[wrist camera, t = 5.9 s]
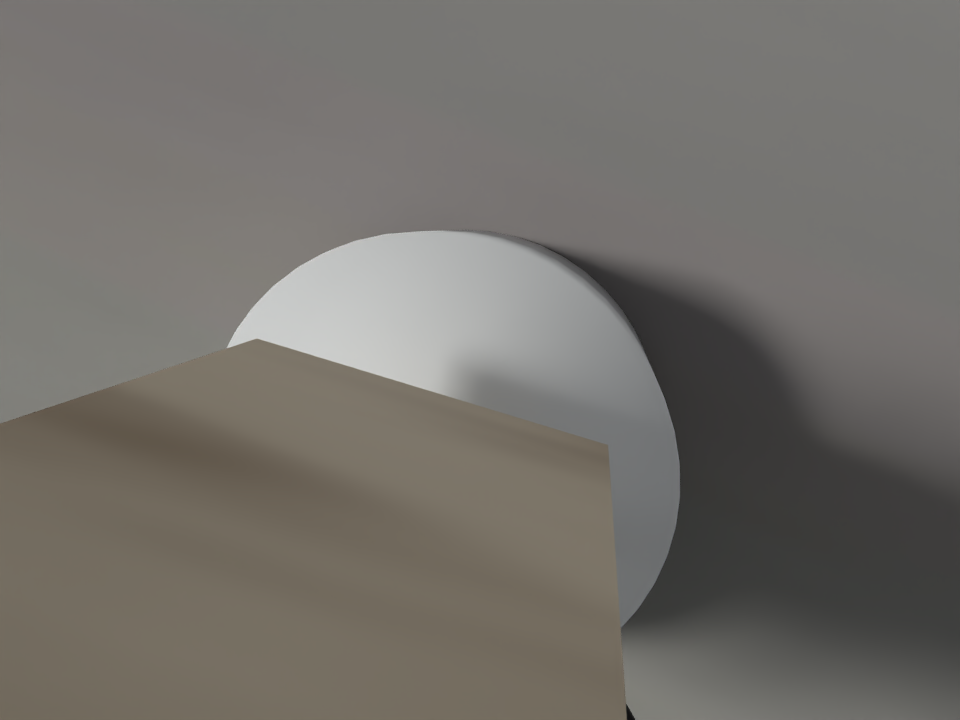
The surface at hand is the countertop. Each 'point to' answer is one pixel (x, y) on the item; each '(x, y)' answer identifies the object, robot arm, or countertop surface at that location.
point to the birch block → (302, 553)
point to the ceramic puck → (497, 356)
